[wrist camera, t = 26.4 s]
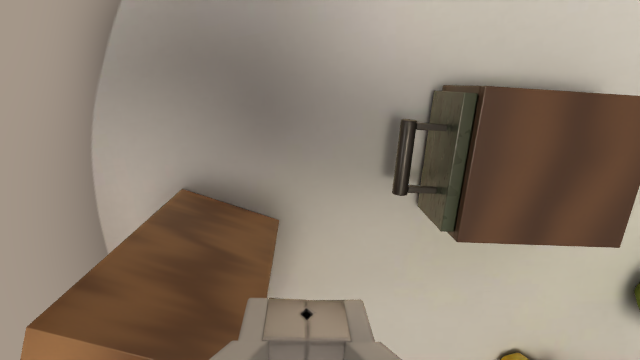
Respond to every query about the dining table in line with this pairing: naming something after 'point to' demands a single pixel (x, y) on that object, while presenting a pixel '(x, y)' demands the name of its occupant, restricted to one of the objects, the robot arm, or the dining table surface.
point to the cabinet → (549, 167)
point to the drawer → (439, 156)
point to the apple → (637, 294)
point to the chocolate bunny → (514, 357)
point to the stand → (163, 288)
